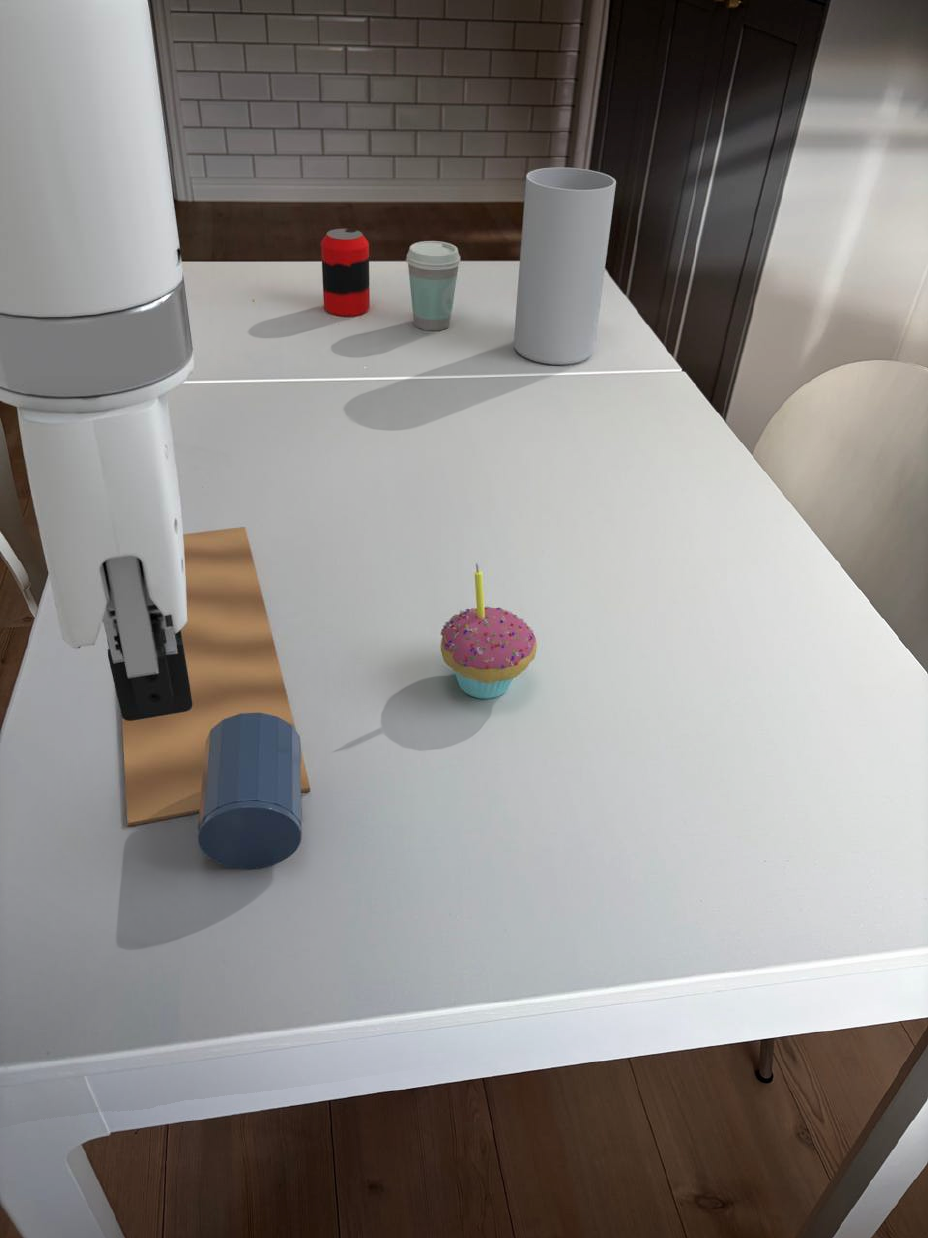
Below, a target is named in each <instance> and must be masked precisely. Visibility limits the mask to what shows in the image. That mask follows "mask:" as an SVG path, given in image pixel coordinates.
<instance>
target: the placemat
mask: <svg viewBox="0 0 928 1238" xmlns="http://www.w3.org/2000/svg"><path fill="white" fill-rule="evenodd" d="M183 541H184V557H185V577H186V600H187V622H186V624H185V625H184V626H183V628H182V629H181V635H182V641H183V647H184V653H185V659H186V665H187V671H188V677H189V683H190V691H191V697H192V708H191V709H190V710H188V711H186V712H181V713H175V714H169V715H163V716H157V717H151V718H145V719H140V720H134V721H127V720H125V719H123V718H122V715H121V730H122V731H121V734H122V748H123V749H122V750H123V768H124V786H125V804H126V807H125V808H126V822H127V823H126V824H127V826H128V827H133V826H138V825H142V824H147V823H153V822H157V821H162V820H163V821H164V820H168V819H174V818H179V817H183V816H188V815H195V814H199V812H200V800H201V789H202V777H203V765H204V754H205V742H206V739H207V737H208V735H209V733H210V730H211V729H212V728H213V727H214V726H216V725H217V724H218V723H219V722H221V721H222V720H224V719H226V718H229V717H232V716H235V715H237V714H241V713H264V714H269V715H273V716H277V717H279V718H281V719H283V720H285V721H286V722H288V723H290V724H291V725H292V726H293V727H294V729H295V730H296V731H297V729H296V726H295V721H294V716H293V713H292V710H291V705H290V701H289V697H288V693H287V689H286V686H285V685H286V684H285V682H284V681H285V680H284V677H283V673H282V669H281V665H280V662H279V656H278V654H277V649H276V645H275V641H274V637H273V633H272V629H271V625H270V621H269V617H268V613H267V609H266V605H265V601H264V597H263V593H262V590H261V589H262V588H261V585H260V582H259V577H258V573H257V569H256V564H255V561H254V556H253V552H252V549H251V545H250V541H249V537H248V532H247V529H246V527H245V526H240V527H239V526H238V527H232V528H224V529H223V528H222V529H215V530H207V531H199V532H198V531H197V532H192V533H190V532H189V533H183ZM310 785H311V784H310V781H309V778H308V773H307V769H306V765H305V762H304V756H303V754H302V752H301V794H303V793H307V792H311V786H310Z"/></svg>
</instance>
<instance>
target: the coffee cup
mask: <svg viewBox="0 0 928 1238" xmlns="http://www.w3.org/2000/svg"><path fill="white" fill-rule="evenodd" d="M405 262H406V263H407V268H408V280H409V288H410V299H411V309H412V317H413V324H414V326H415V327H416V328H418V329H421V330H424V331H431V332H432V331H436V332H437V331H442V330H446V329H448V328H449V327H450V325H451V319H452V313H453V306H454V300H455V294H456V293H455V291H456V287H457V279H458V272H459V266H460V265H461V264H462V261H461V255H460V253H459V248H458V247H457V246H456V245H454V244H452V243H449V242H445V241H438V240H424V241H418V242H415V243H412V244H411V245H410V246H409V249H408V252H407V253H406V259H405Z"/></svg>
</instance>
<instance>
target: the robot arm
mask: <svg viewBox="0 0 928 1238" xmlns="http://www.w3.org/2000/svg"><path fill="white" fill-rule="evenodd" d="M162 106H163V105H162V99H161V91H160V83H159V74H158V67H157V60H156V52H155V44H154V37H153V29H152V21H151V14H150V7H149V2H148V0H0V402H2V403H4V404H7V405H9V406H13V407H16V410H17V418H18V425H19V432H20V439H21V445H22V451H23V457H24V463H25V469H26V474H27V479H28V485H29V489H30V494H31V498H32V504H33V509H34V513H35V518H36V519H35V520H36V523H37V527H38V532H39V536H40V541H41V546H42V550H43V554H44V558H45V564H46V568H47V571H48V577H49V581H50V586H51V591H52V595H53V600H54V605H55V610H56V614H57V621H58V625H59V630H60V634H61V639H62V641H63V642H64V643H65V644H66V645H67V646H69V647H70V648H72V649H81V648H82V647H87V646H95V645H96V643H97V639H98V637H99V633H100V629H101V627H102V623H103V627H104V632H105V634H106V640H107V646H108V648H107V658H108V662H109V667H110V671H111V675H112V679H113V684H114V688H115V693H116V698H117V702H118V706H119V711H120V714H121V715H122V716H121V719H122V718H123V719H125V720H127V721H134V720H140V719H145V718H151V717H157V716H163V715H169V714H175V713H181V712H186V711H188V710H190V709H191V708H192V697H191V691H190V683H189V677H188V671H187V665H186V659H185V653H184V647H183V641H182V635H181V629H182V628H183V626H184V625H185V624H186V622H187V600H186V577H185V557H184V541H183V534H184V530H183V515H182V506H181V497H180V496H181V495H180V486H179V478H178V469H177V462H176V454H175V445H174V439H173V431H172V423H171V417H170V410H169V409H170V408H169V403H168V402H169V401H168V396H167V395H168V394H169V393H170V392H172V391H173V390H175V389H177V388H179V387H180V386H182V385H183V384H184V383H186V381H187V380H188V379H189V378H190V376H191V375H192V374H193V372H194V370H195V364H196V361H195V351H194V347H193V339H192V332H191V326H190V325H191V324H190V323H191V322H190V316H189V309H188V308H189V307H188V301H187V293H186V286H185V278H184V269H183V262H182V255H181V247H180V239H179V231H178V225H177V224H178V223H177V218H176V217H177V216H176V210H175V202H174V193H173V185H172V176H171V170H170V169H171V167H170V161H169V153H168V145H167V136H166V130H165V123H164V114H163V107H162Z"/></svg>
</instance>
